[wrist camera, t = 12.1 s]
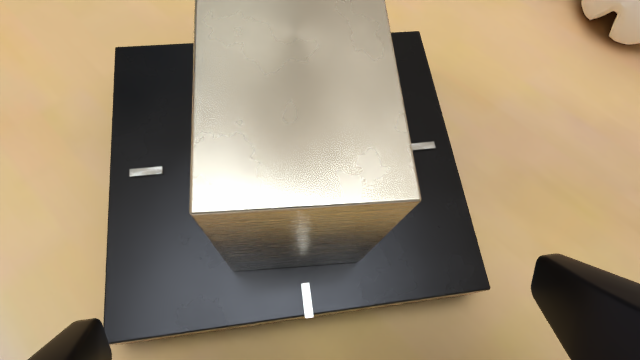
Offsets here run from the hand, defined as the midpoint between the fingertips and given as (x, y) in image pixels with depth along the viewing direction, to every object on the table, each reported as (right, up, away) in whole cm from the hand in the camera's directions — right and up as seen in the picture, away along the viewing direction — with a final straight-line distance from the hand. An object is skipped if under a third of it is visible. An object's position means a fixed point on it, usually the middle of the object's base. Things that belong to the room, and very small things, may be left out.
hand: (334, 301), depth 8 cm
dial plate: (-2, +3, +13) cm, 13 cm away
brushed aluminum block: (-2, +3, +11) cm, 11 cm away
